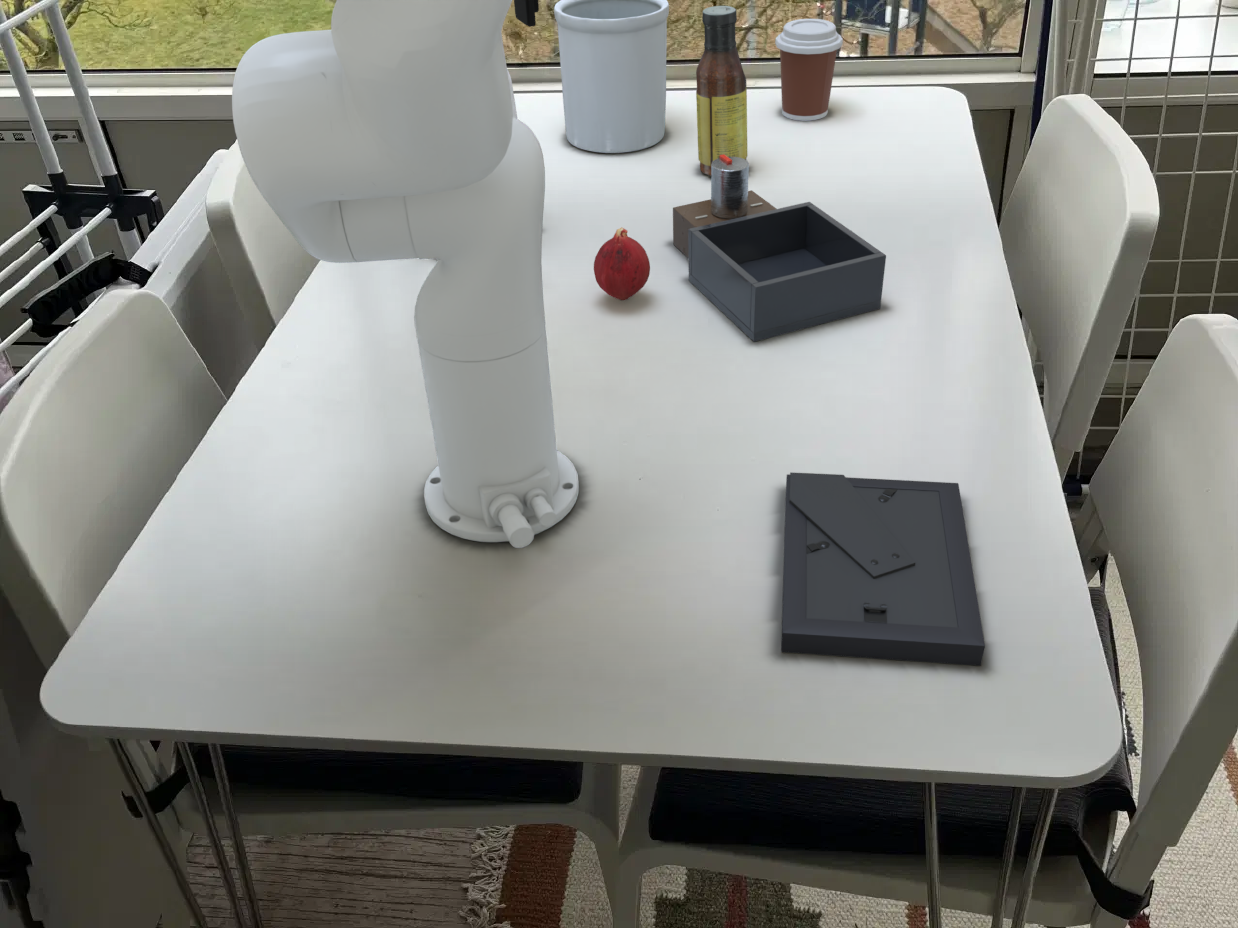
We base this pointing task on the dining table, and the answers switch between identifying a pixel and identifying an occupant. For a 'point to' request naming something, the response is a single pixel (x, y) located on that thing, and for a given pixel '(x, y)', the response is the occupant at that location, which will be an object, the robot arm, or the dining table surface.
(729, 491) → the dining table surface
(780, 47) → the coffee cup
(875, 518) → the picture frame
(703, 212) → the block
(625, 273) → the red round fruit
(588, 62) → the utensil holder
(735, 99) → the sauce bottle
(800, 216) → the dark grey open box
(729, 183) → the metal rotary knob
